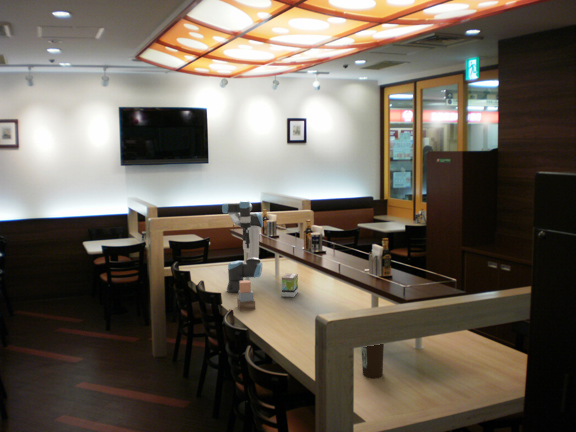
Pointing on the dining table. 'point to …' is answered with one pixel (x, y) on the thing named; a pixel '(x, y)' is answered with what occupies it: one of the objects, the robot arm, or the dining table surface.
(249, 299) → the slate block
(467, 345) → the dining table surface
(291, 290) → the tea box
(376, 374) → the brown coffee cup
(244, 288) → the terracotta cube
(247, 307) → the walnut block
